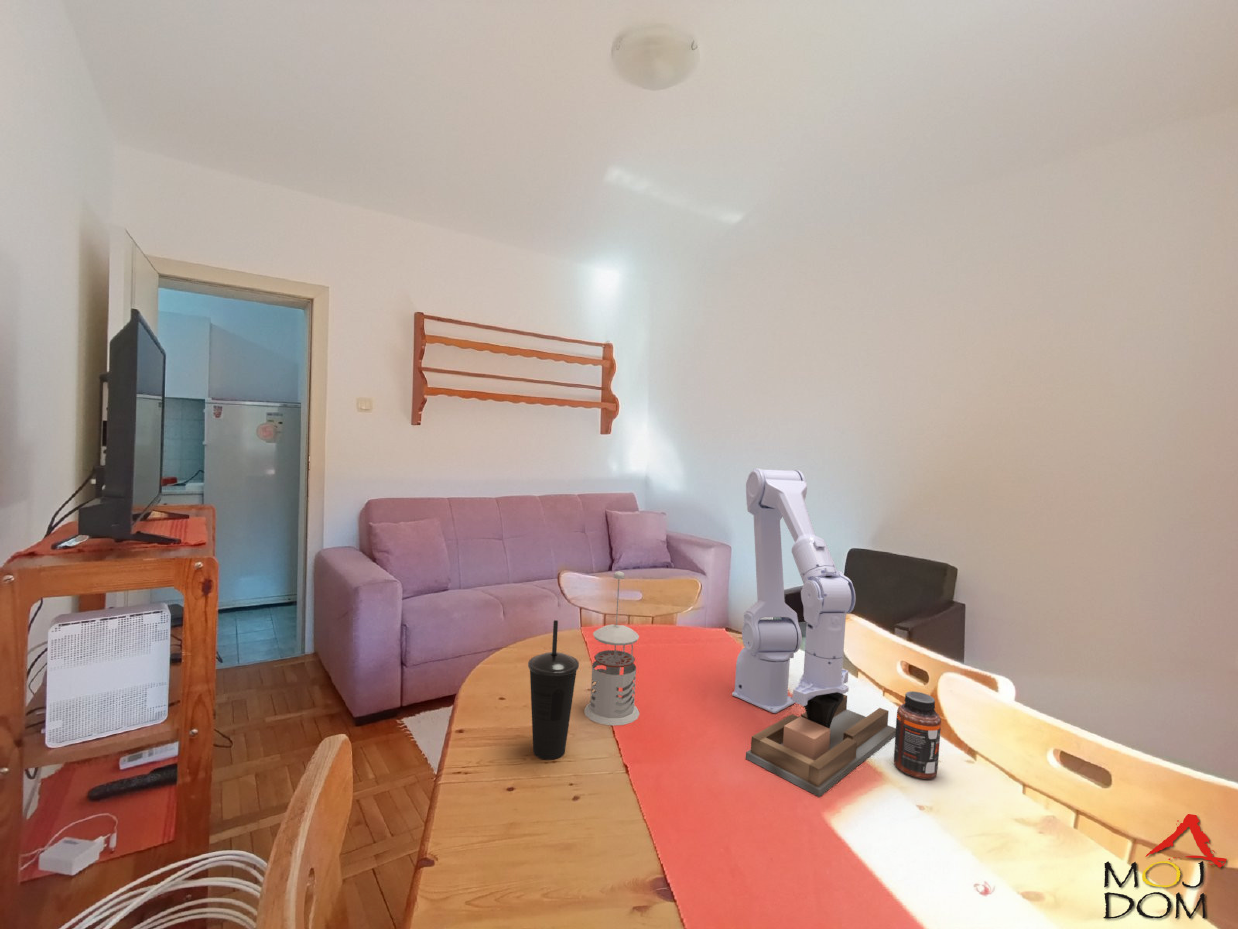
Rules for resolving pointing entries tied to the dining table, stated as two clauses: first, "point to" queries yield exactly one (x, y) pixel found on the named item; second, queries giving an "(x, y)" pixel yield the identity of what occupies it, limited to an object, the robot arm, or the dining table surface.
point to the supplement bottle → (917, 736)
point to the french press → (613, 676)
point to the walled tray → (846, 751)
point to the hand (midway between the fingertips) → (818, 736)
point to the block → (806, 738)
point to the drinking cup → (551, 699)
